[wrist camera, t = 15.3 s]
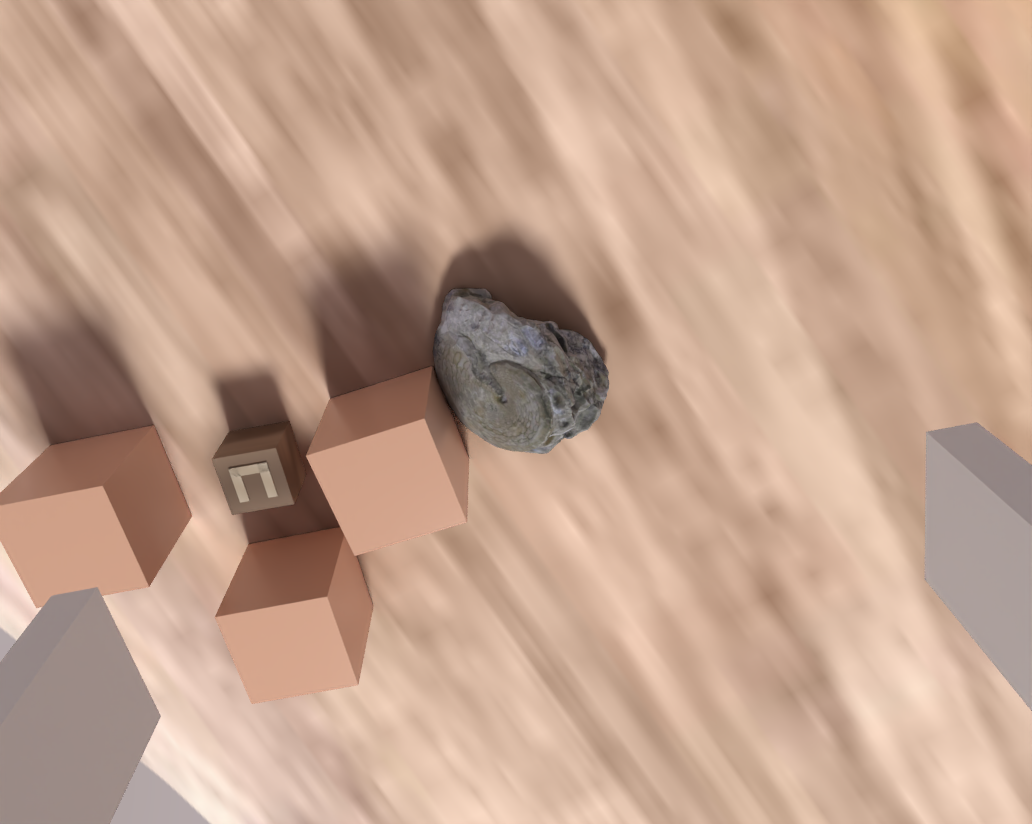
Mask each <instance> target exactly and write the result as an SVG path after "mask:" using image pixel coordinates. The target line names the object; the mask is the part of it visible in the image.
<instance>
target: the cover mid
mask: <svg viewBox="0 0 1032 824" xmlns="http://www.w3.org/2000/svg"><path fill="white" fill-rule="evenodd" d="M372 611H373V604H372V601H371V598H370V595H369V592H368V589H367V586H366V583H365V580H364V577H363V574H362V571H361V568H360V564H359V561H358V558H357V556H354V554H353V552H352V550H351V548H350V546H349V543H348V541H347V539H346V537H345V535H344V533H343V531H342V529H341V527H337V528H332V529H327V530H321V531H316V532H311V533H305V534H300V535H295V536H289V537H284V538H279V539H273V540H268V541H263V542H257V543H252V544H248V547H247V549H246V551H245V553H244V555H243V557H242V560H241V562H240V564H239V566H238V568H237V570H236V573H235V575H234V577H233V579H232V581H231V583H230V586H229V588H228V590H227V592H226V594H225V596H224V599H223V601H222V603H221V605H220V607H219V609H218V612H217V614H216V616H215V619H216V621H217V623H218V626H219V628H220V630H221V633H222V635H223V638H224V640H225V642H226V645H227V647H228V649H229V652H230V654H231V656H232V659H233V661H234V663H235V666H236V668H237V670H238V673H239V675H240V677H241V680H242V682H243V684H244V687H245V689H246V692H247V694H248V696H249V699H250V701H251V703H252V704H255V703H260V702H266V701H272V700H277V699H283V698H288V697H294V696H300V695H305V694H311V693H316V692H322V691H328V690H333V689H339V688H344V687H350V686H356V685H358V684H359V679H360V673H361V668H362V663H363V658H364V653H365V647H366V642H367V637H368V632H369V627H370V621H371V616H372Z"/></svg>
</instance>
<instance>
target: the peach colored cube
mask: <svg viewBox="0 0 1032 824" xmlns="http://www.w3.org/2000/svg"><path fill="white" fill-rule="evenodd" d="M306 457H307V459H308V461H309V463H310V466H311V468H312V470H313V472H314V474H315V476H316V478H317V480H318V482H319V484H320V486H321V488H322V490H323V492H324V494H325V496H326V498H327V500H328V502H329V505H330V507H331V509H332V511H333V513H334V515H335V517H336V519H337V521H338V523H339V525H340V527H341V529H342V531H343V533H344V535H345V537H346V539H347V541H348V543H349V546H350V548H351V550H352V552H353V554H354V556H357V555H360V554H363V553H366V552H370V551H373V550H376V549H380V548H383V547H386V546H390V545H393V544H396V543H400V542H403V541H406V540H410V539H413V538H416V537H420V536H423V535H426V534H430V533H433V532H436V531H440V530H443V529H446V528H450V527H453V526H456V525H460V524H463V523H466V522H467V508H468V478H469V457H468V455H467V452H466V450H465V447H464V445H463V442H462V439H461V437H460V434H459V432H458V429H457V427H456V424H455V422H454V419H453V417H452V414H451V412H450V409H449V407H448V404H447V402H446V399H445V396H444V394H443V392H442V389H441V387H440V384H439V382H438V379H437V376H436V374H435V371H434V369H433V366H431V367H428V368H425V369H421V370H418V371H415V372H412V373H409V374H406V375H403V376H400V377H396V378H393V379H390V380H387V381H384V382H381V383H378V384H375V385H372V386H368V387H365V388H362V389H359V390H356V391H353V392H350V393H347V394H344V395H340V396H337V397H334V398H331V399H330V400H329V402H328V404H327V407H326V409H325V412H324V414H323V416H322V419H321V421H320V423H319V426H318V428H317V431H316V433H315V435H314V438H313V440H312V442H311V445H310V447H309V450H308V452H307V454H306Z"/></svg>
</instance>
